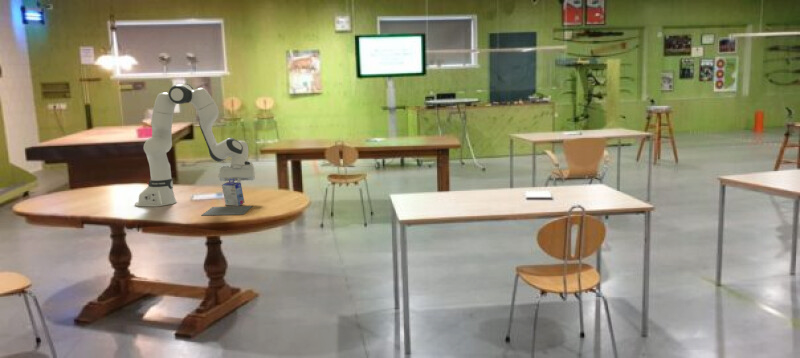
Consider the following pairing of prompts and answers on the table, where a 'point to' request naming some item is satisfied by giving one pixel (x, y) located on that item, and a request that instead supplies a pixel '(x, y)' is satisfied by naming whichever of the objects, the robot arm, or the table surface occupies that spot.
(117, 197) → the table surface
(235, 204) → the ink cartridge box
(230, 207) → the mat
